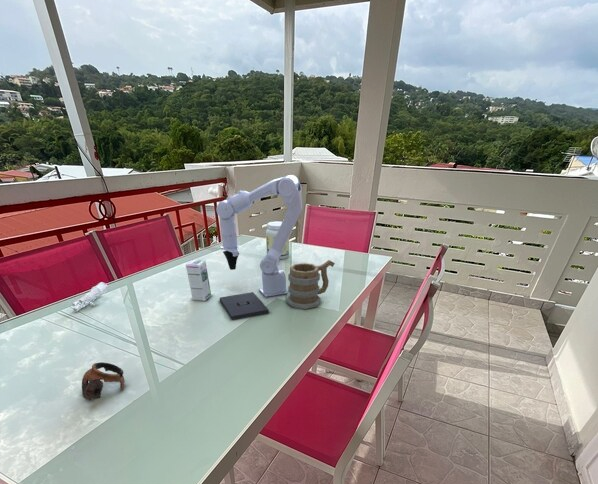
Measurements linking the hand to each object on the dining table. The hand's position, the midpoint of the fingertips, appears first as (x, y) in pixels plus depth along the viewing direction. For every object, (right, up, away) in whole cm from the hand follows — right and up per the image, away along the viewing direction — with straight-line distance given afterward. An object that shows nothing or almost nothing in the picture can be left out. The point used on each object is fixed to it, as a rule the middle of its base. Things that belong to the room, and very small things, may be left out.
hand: (232, 269), depth 136 cm
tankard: (+33, -14, -3) cm, 35 cm away
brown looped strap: (-23, -47, -51) cm, 73 cm away
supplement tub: (+16, +20, +44) cm, 51 cm away
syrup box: (-12, -12, -2) cm, 17 cm away
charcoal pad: (+8, -19, -11) cm, 24 cm away
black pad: (+4, -15, -6) cm, 17 cm away
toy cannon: (-53, -16, -8) cm, 56 cm away
